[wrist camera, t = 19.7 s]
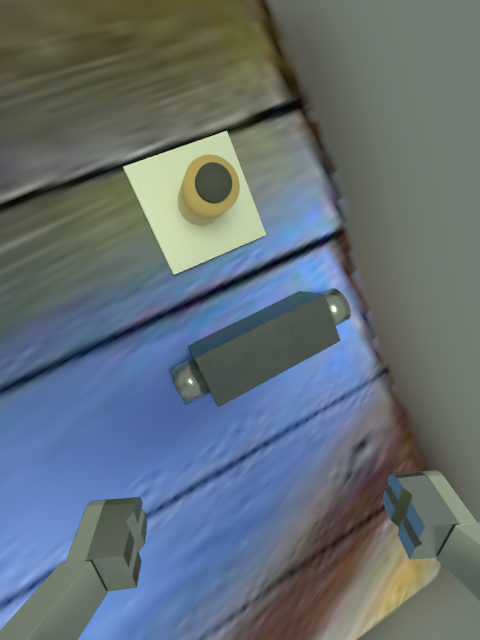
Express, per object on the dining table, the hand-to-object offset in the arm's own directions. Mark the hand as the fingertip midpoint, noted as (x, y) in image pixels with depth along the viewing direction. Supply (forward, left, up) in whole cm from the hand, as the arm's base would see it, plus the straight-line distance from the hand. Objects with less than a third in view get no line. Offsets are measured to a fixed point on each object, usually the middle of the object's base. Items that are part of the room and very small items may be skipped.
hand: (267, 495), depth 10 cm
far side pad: (-4, +15, -28) cm, 32 cm away
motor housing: (+9, +3, -28) cm, 29 cm away
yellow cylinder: (-4, +15, -27) cm, 31 cm away
